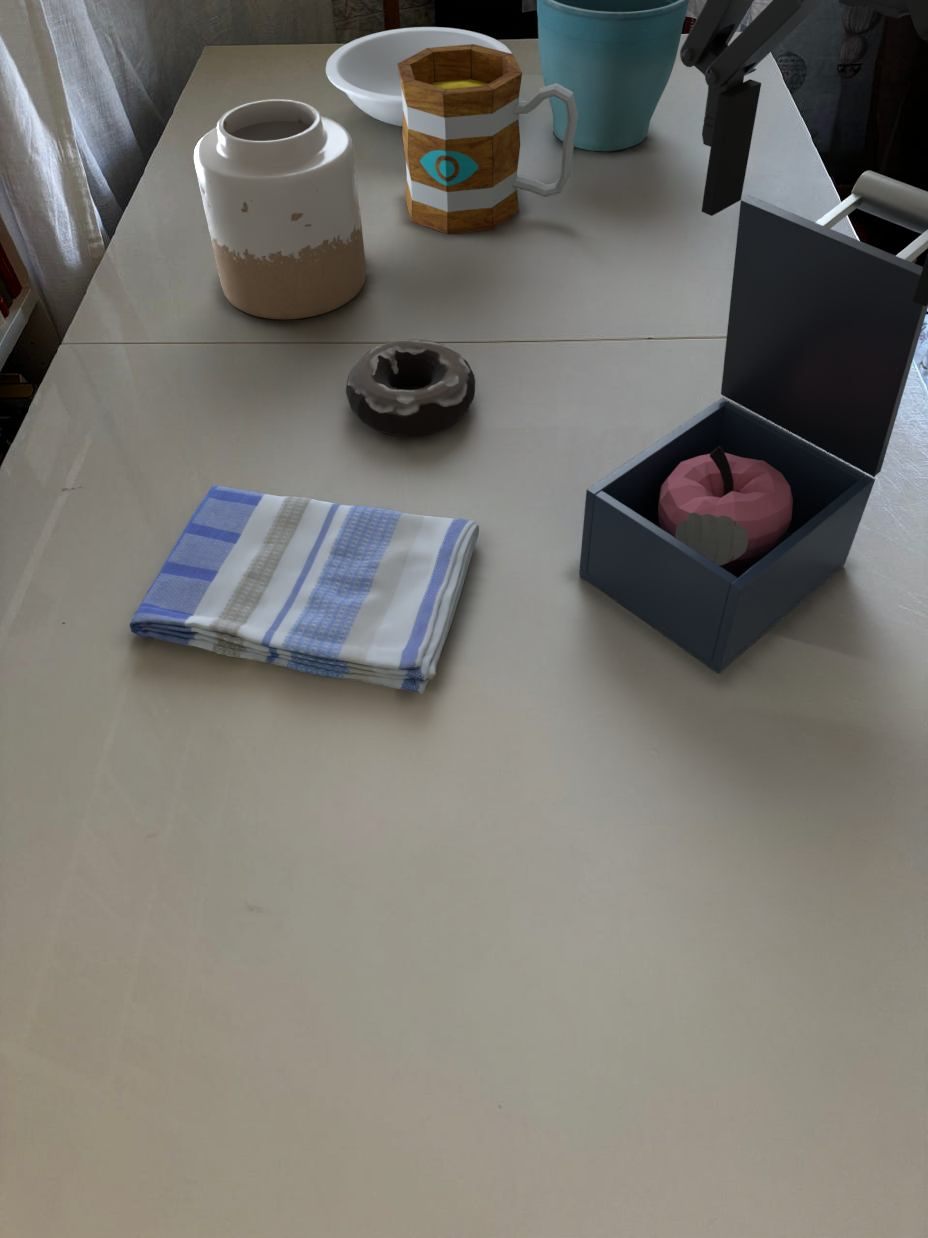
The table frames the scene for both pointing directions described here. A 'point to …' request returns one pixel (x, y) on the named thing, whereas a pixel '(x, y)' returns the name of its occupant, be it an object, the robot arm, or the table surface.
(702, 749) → the table surface
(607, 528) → the blue storage box
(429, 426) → the donut
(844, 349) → the lid
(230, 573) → the dish towel
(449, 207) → the mug
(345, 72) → the soup bowl
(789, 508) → the apple
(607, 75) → the flower pot
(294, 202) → the vase
